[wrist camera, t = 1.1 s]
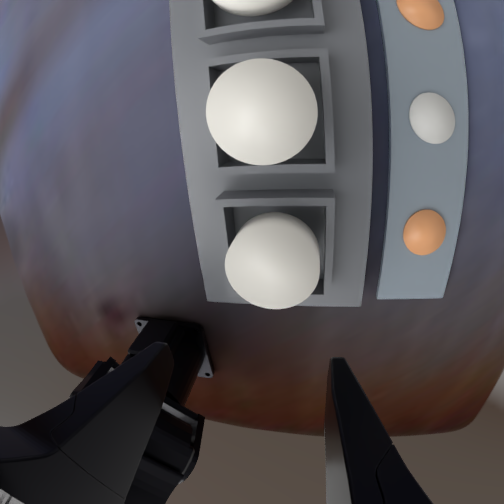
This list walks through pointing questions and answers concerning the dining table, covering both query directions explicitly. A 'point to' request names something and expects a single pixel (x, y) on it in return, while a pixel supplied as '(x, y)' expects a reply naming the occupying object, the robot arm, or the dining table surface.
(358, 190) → the button board
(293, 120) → the button middle
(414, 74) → the pattern card
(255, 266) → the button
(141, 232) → the dining table surface
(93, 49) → the dining table surface
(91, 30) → the dining table surface
